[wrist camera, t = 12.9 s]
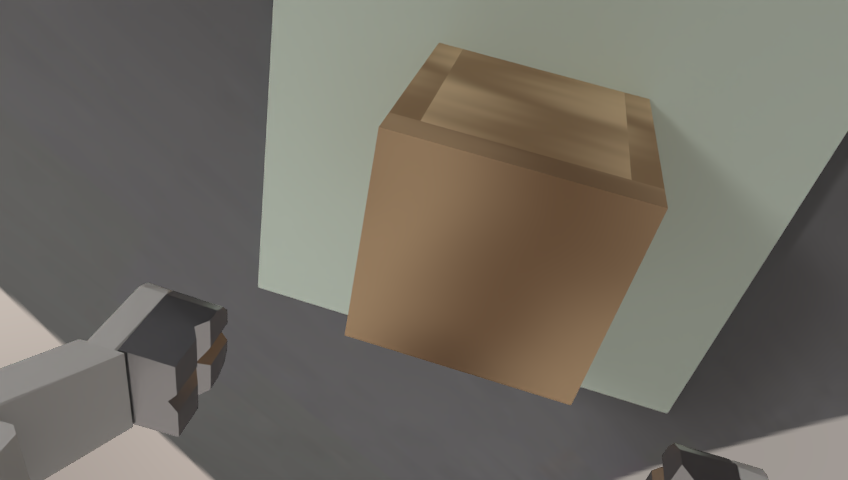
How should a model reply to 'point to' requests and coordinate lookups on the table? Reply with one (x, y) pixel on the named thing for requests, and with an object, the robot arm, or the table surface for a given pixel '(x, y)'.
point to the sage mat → (597, 64)
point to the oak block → (505, 220)
